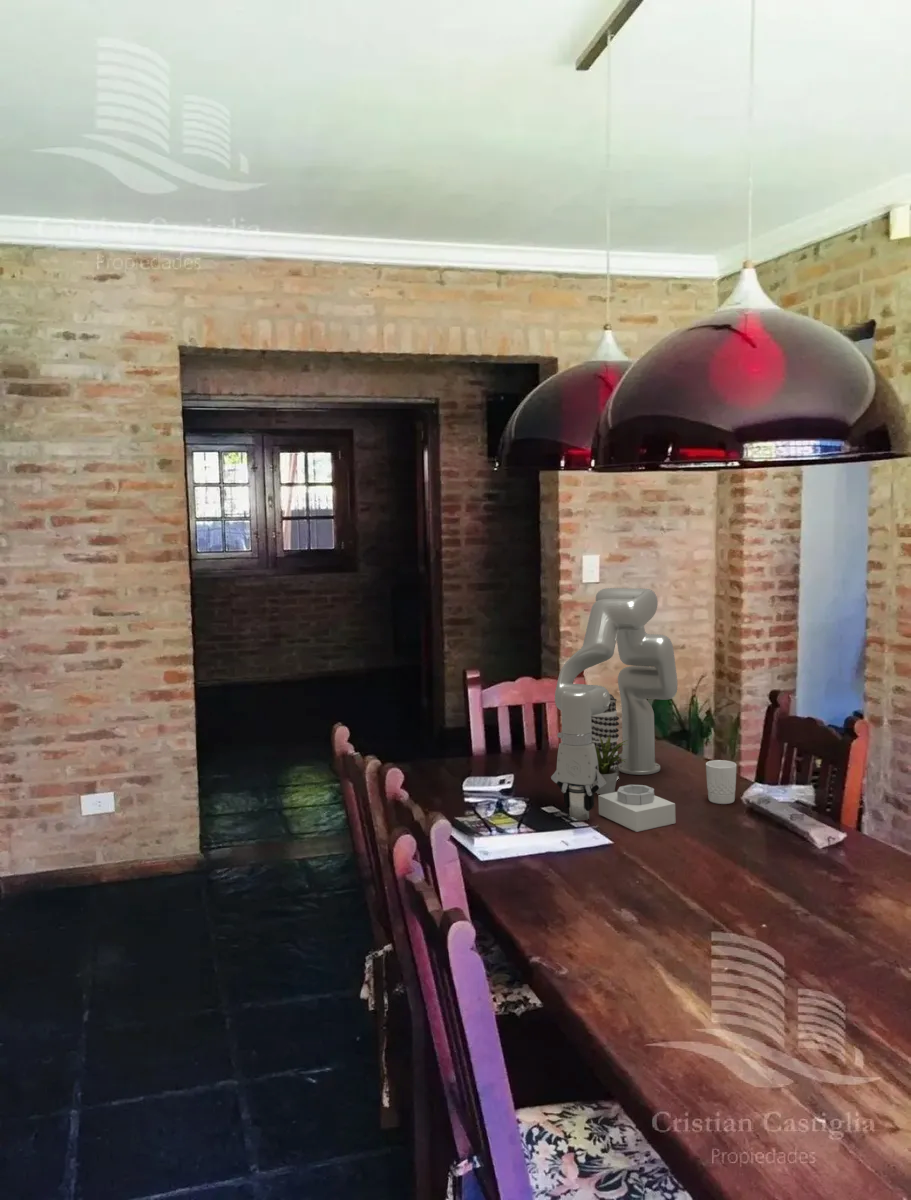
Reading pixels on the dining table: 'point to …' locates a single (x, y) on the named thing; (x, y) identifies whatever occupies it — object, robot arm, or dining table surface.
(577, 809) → the lens
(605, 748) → the house plant
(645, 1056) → the dining table surface
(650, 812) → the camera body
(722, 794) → the white cup
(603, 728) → the decorative candle
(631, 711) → the robot arm
